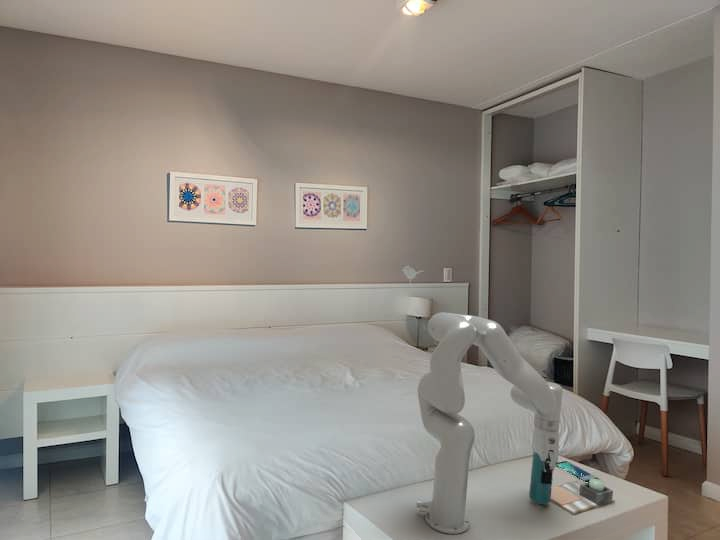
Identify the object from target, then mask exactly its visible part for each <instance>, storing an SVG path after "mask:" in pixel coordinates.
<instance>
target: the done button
mask: <svg viewBox="0 0 720 540" xmlns="http://www.w3.org/2000/svg"><path fill="white" fill-rule="evenodd" d="M604 486H605V481H603V480H601V479H594V478H592V479H590V482H589V488H590V489H592V490H594V491H596V492H597V493H600V492H603V491H604Z"/></svg>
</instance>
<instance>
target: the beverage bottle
mask: <svg viewBox="0 0 720 540" xmlns="http://www.w3.org/2000/svg"><path fill="white" fill-rule="evenodd" d="M545 461H549V459H546V460H545ZM531 463H532V464H531V470H530V471H531V474H530V483H529V499H530V500H531V501H532V502H534V503H536V504H538V505H548V504H550V502H551V500H550V497H551V492H552V491H551V490H552V489H551V488H553V487H552V486H553V482H552V483H551V484H542V483H541V473H542V470H543V462H542V461H541V460H540V458H539V456H538V454H537V453H536V452H535V453H533V454H532V462H531ZM549 464H550V463H546V467H547V466H548V465H549ZM552 480H553V477H552Z"/></svg>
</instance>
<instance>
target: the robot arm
mask: <svg viewBox="0 0 720 540" xmlns="http://www.w3.org/2000/svg"><path fill="white" fill-rule="evenodd" d="M427 331H428V333H429V336H431V338H433V339H434V340H435V341H437V342H439V343H438V345H436V347H435V348H434V350H433V352H432V354H431V357H430V361H429V369H430V371H429V372H426V373H425V374H423V376H422V377H421V378H420V380H419V382H418V386H417V398H418V404H419V409H420V416H421V420H422V424H423V425H422V426H423V428H424V429H425V431H426V432H427V434H429V435H430V436H432V437H433V438H434V439H436V440H437V441H438V442H439V443H440V447H439V450H438V452H437V455H436V456H435V463H434V475H433V489H432V499H431V501H429V500H428V502H427V501H423V500H419V499H417V500H416V508H419V512H420V513H421V512H422V513H425V521H426V523H427V524H428V526H429V527H431V529H434V530H435V531H438V532H441V533H445V534H450V535H458V534H462V533H464V532H466V531H467V530H469V528H470V523H471V521H470V518H469V516H468V515H467V514H466V505H467V492H468V480H469V468H470V460H471V453H472V450H473V446H474V442H475V439H476V437H475V435H476V433H475V429H474V426H473V425H472V423H471V422H470V421H469V420H468V419H466V418H465V417H463V415H461V414H460V413H461V412H462V410H463V409H464V407H465V402H466V398H465V397H466V396H465V391H464V390H465V387H464V383H463V382H464V381H463V376H462V375H463V374H462V367H461V366H462V359H464V358H463V357H464V356H465V354H466V353H467V351H468V350H469V348H471V347H472V345H473V346H476V347H479V349H480V350H481V351H482V353H483V354H484V355H485V357H486V359H487V360H488V361H489V363H490V364H491V366H492V368H493V369H494V370H495V372H496V373H497V374H498V375H499V376H501V377H502V378H503V379H504V380H505V381H507V382H509V383H510V384H512V385H513V386H512V388H511V390H510V397H511V400H513V402H514V403H515V404H517V405H518V406H519V407H522V408H524V409H525V410H528V411H531V412H532V413H534V416H533V427H534V428H533V434H532V443H531V448H532V453H533V454H534V453H535V452H536V453H537V454H538V456H539V458H540V460H541V461H542V462H543V470H542V473H541V483H542V484H551V483H552V484H553V479H552V478H553V473H554V470H555V468H557V467H556V463H559V456H560V455H559V452H560V438H559V437H560V436H559V430H560V423H561V414H562V413H561V412H562V402H563V401H562V400H563V388H562V387H563V386H561V385H560V384H558V383H555V382H552V381H547V380H546V379H545V378H544V377H543V376H542V375H541V374H540V373H539V372H538V371H537V370H536V369H535V368H534V367H533V366H531V365H530V364H529V362H527V361H526V360H525V358H524V357H522V356H521V354H520V352H519V351H518V350H517V348H516V347H515V345H514V343H513V342H512V340H511V339H510V337H509V336H508V335H507V333H506V331H505V329H504V328H503V327H502V326H501V325H500V324H499V323H498V322H497V321H494V320H492V319H487V318H484V317H481V316H476V315H470V314H469V315H468V314H460V313H459V314H458V313H451V312H444V311H443V312H437V313H435V314H434V315H432V316H431V318H430V319H429V321H428V324H427ZM546 459H549V461H545V460H546ZM546 463H550V464H549V465H548V466H547V467H546Z"/></svg>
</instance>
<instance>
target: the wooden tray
mask: <svg viewBox="0 0 720 540" xmlns="http://www.w3.org/2000/svg"><path fill="white" fill-rule="evenodd" d="M557 486H558V487H560V488H562V489H564V490H566V491H567V492H569V493H571V494H573V495H574V496H576V497H578V498H580V499H581V500H579V501H576V502H572V503H569V504H566V505H563V506H561V505H559V504H557V503H556V502H554V501H552V500H551V499H550V500H551V501H550V502H551V503H553V504H554V505H556V506H558V507H559V508H561V509H562V510H564V511H566V512H568V513H569V514H571V515H572V516H576V515H579V514H582V513H585V512H588V511H591V510H594V509H597V508H600V507H604V506H606V505H610V504H613V503H615V501H616V500H615V499H614V498H613V495H614V490H613V489H611V488H609V487H607V486H605V485H604V491H603V492H600V493H597V492H596V491H594V490H592V489H590V488H589V482H588V483H585V482H583V481H581V480H576V481H571V482H568V483H564V484H561V485H557Z"/></svg>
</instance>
